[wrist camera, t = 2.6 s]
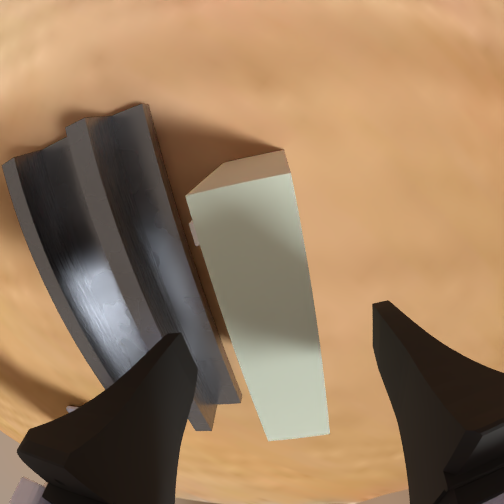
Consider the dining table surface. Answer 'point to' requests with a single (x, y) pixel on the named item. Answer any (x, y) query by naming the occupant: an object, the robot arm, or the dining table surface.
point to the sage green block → (264, 289)
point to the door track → (118, 252)
